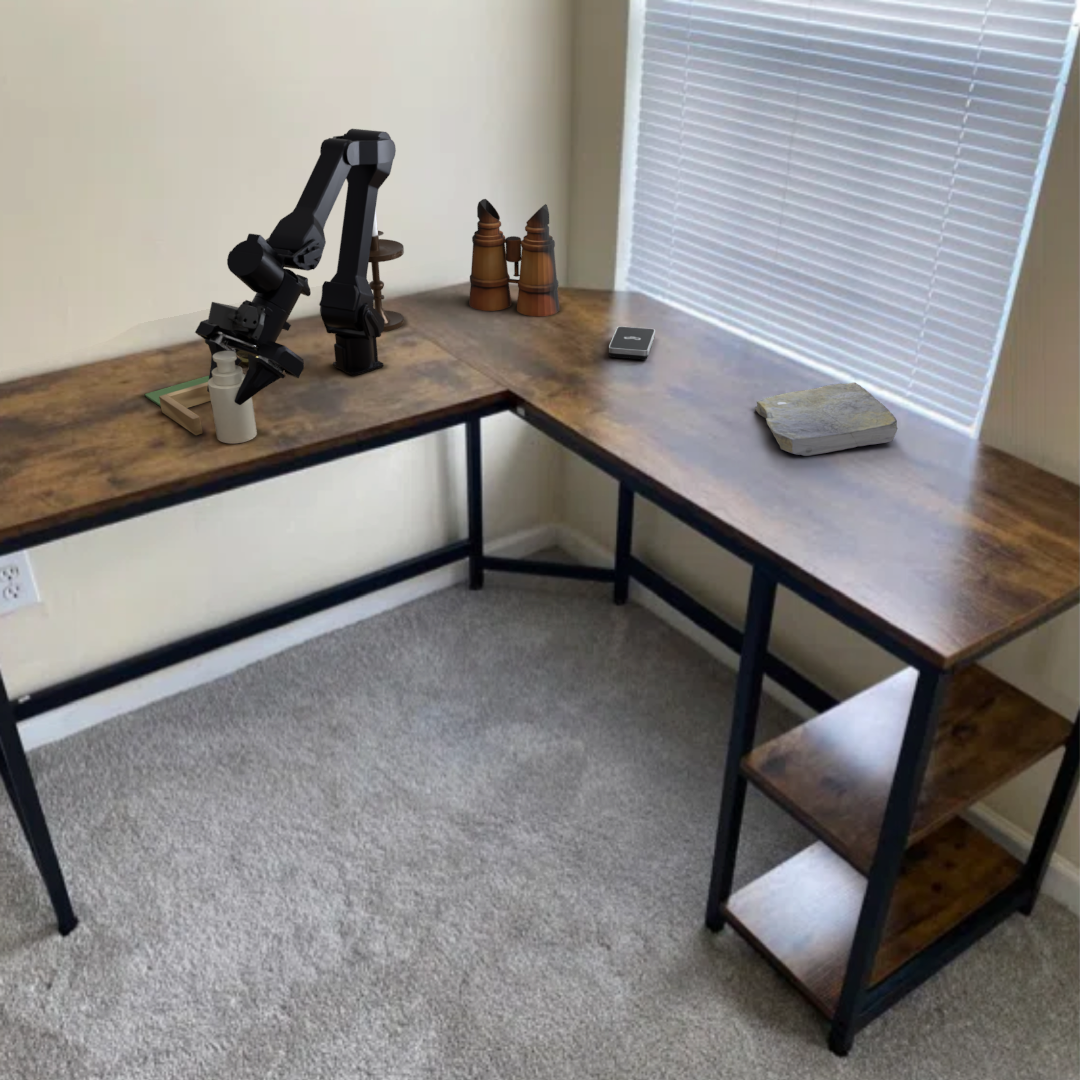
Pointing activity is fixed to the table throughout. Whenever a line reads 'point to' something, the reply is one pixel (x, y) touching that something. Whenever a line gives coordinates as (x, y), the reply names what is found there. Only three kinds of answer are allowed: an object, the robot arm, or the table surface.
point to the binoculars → (534, 271)
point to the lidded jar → (230, 401)
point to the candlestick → (379, 253)
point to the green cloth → (174, 389)
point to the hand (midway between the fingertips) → (223, 398)
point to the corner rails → (185, 406)
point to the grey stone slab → (827, 419)
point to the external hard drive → (631, 342)
